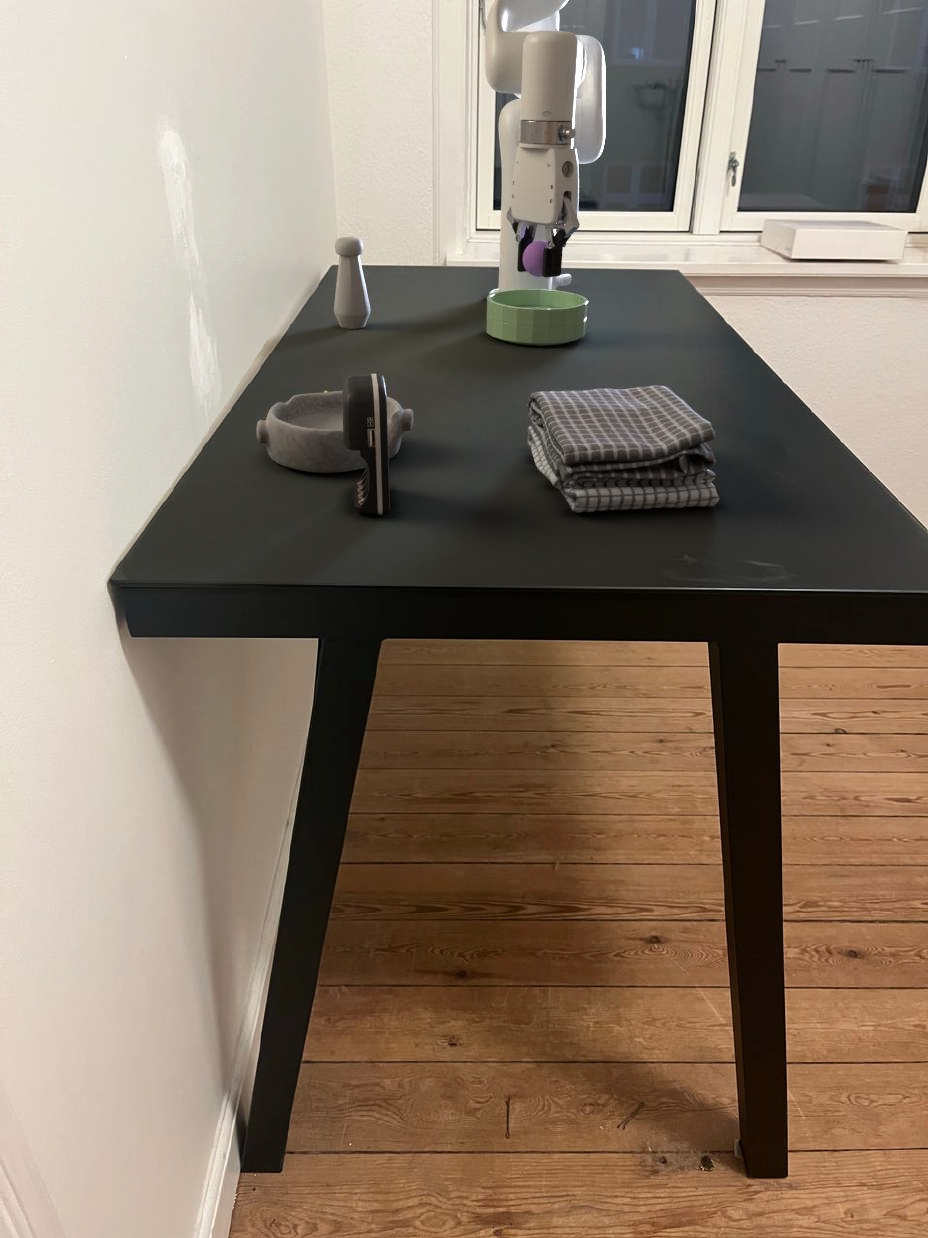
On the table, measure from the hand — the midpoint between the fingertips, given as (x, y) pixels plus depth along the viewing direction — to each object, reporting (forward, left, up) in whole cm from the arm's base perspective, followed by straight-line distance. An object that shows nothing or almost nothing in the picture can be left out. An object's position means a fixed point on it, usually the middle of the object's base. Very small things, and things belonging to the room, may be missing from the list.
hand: (538, 272), depth 136 cm
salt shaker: (+20, -21, -10) cm, 31 cm away
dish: (+52, +27, -10) cm, 59 cm away
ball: (0, 0, +2) cm, 2 cm away
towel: (+33, +49, -10) cm, 59 cm away
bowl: (0, 0, -9) cm, 9 cm away
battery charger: (+56, +40, -10) cm, 69 cm away
